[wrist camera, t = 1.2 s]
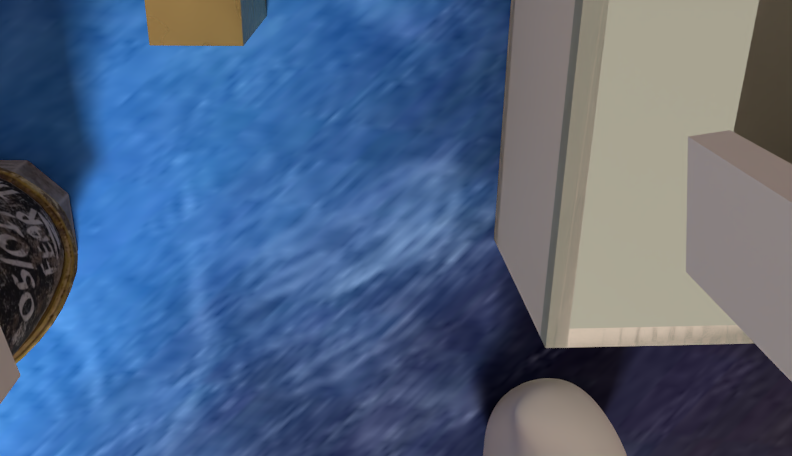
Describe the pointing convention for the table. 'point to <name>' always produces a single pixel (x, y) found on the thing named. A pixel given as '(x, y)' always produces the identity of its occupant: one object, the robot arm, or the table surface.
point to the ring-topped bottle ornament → (33, 254)
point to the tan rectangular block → (203, 21)
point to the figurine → (550, 423)
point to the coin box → (627, 156)
